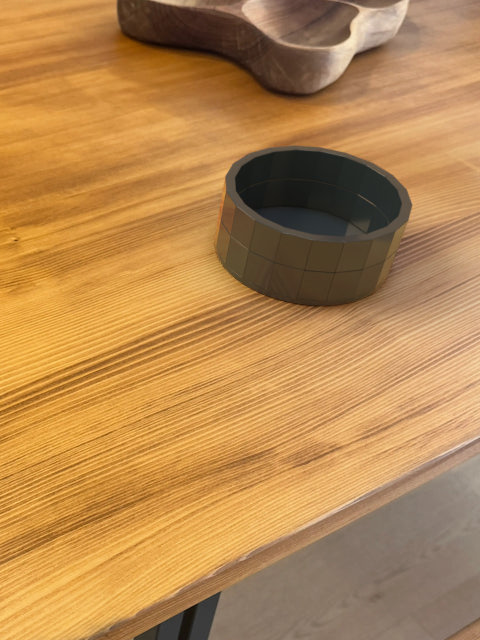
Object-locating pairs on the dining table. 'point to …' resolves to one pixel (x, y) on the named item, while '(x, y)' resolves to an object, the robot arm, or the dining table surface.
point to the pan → (310, 224)
